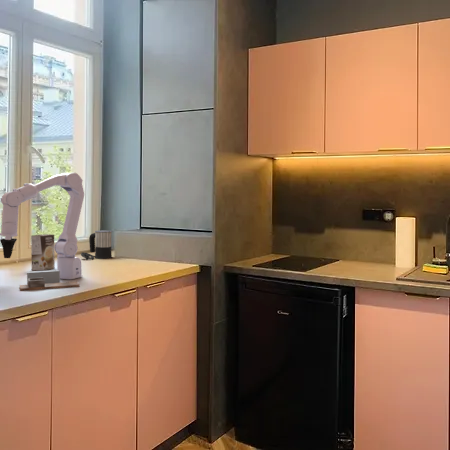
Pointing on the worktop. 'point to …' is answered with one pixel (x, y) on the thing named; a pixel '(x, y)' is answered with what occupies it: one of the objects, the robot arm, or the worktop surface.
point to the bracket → (45, 284)
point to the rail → (45, 276)
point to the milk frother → (99, 245)
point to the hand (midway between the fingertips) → (7, 257)
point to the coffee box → (42, 252)
